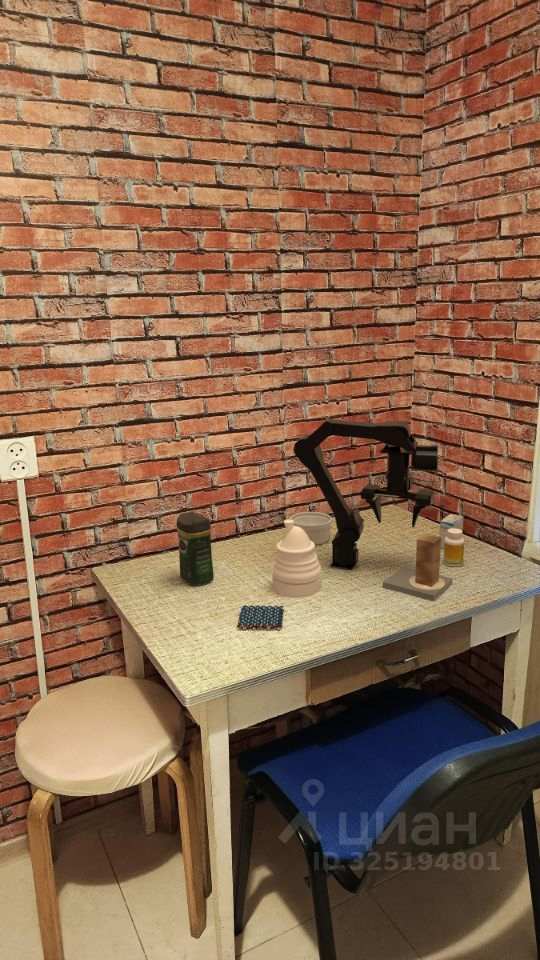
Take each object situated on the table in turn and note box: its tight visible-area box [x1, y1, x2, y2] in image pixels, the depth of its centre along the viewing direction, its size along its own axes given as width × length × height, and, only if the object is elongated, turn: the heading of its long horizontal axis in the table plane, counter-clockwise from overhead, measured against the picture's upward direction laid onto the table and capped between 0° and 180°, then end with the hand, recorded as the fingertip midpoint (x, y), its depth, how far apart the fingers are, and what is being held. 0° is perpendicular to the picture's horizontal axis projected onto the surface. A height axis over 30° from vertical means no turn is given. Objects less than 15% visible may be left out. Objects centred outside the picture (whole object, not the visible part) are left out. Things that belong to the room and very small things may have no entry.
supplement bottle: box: [442, 528, 465, 567], centre depth 180 cm, size 5×5×10 cm
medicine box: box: [438, 513, 464, 550], centre depth 193 cm, size 8×4×9 cm, turn 144°
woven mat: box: [236, 604, 285, 632], centre depth 152 cm, size 10×11×2 cm
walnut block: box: [415, 533, 442, 587], centre depth 164 cm, size 4×4×12 cm
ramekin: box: [289, 511, 333, 546], centre depth 201 cm, size 13×13×7 cm
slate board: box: [382, 565, 453, 602], centre depth 168 cm, size 14×12×2 cm
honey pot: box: [271, 519, 323, 598], centre depth 167 cm, size 13×13×18 cm
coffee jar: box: [176, 510, 215, 586], centre depth 173 cm, size 10×8×19 cm
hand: (396, 524), depth 175 cm, fingers open, 9 cm apart
